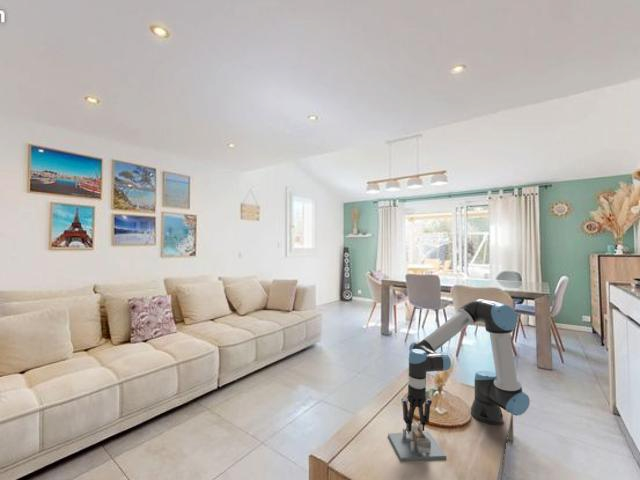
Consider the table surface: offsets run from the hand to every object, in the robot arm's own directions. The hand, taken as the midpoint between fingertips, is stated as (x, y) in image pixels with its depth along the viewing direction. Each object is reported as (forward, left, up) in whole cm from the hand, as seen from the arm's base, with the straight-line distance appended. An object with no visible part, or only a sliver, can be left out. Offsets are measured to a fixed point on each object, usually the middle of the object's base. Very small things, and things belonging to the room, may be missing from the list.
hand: (415, 437), depth 131 cm
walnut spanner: (0, +1, 0) cm, 1 cm away
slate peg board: (0, 0, -4) cm, 4 cm away
